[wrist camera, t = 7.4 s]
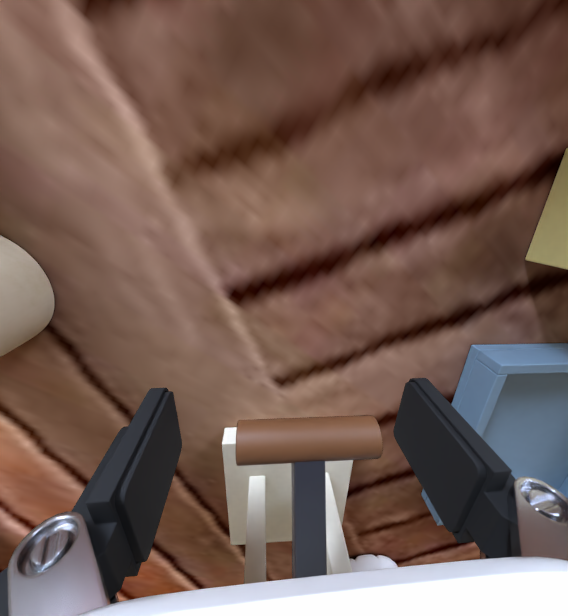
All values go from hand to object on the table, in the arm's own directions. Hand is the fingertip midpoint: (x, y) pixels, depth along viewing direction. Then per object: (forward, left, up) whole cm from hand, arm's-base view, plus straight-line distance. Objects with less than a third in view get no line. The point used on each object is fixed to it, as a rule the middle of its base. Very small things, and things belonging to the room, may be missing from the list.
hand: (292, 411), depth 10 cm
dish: (+6, +16, -4) cm, 18 cm away
